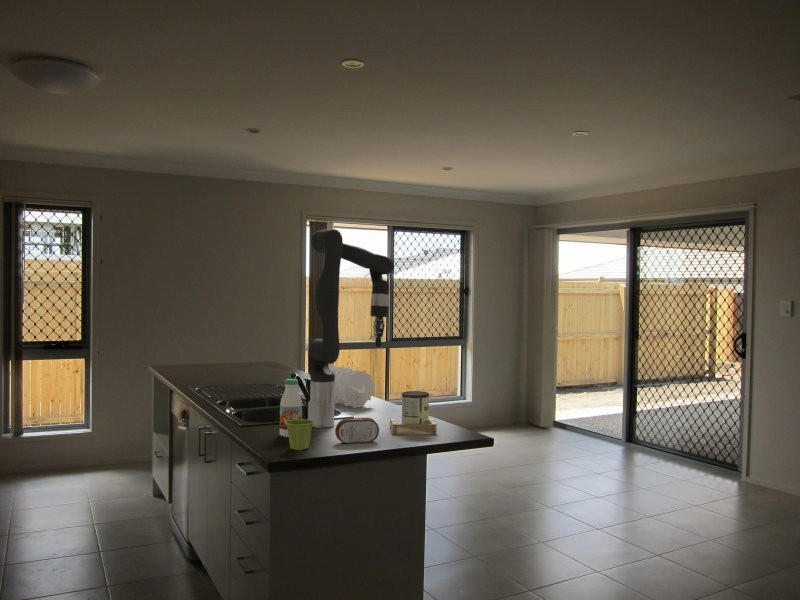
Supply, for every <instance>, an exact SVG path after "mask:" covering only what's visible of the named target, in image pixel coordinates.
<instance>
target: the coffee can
mask: <svg viewBox="0 0 800 600" xmlns="http://www.w3.org/2000/svg"><path fill="white" fill-rule="evenodd" d="M429 400H430V393H429V392H428V391H427V392H426V391H420V390H419V391H418V390H414V391H413V390H412V391H403V392H402V393H401V424H429V418H430V414H429V412H430V411H429V409H430V401H429Z"/></svg>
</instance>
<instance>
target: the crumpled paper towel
mask: <svg viewBox="0 0 800 600" xmlns="http://www.w3.org/2000/svg"><path fill="white" fill-rule="evenodd" d="M330 371H332V372H333V373H334V375H335V396H334V403H338V404H340V405H344V407H345V406H346V407H348V406H350V407H352V408H353V409H356V408H357V407H362V408H363V407H364V406H365V405H366V403H367V402H368V401H371V399H372V396H374V386H375V383H374V381H373V379H372V377H373V375H371V374H369V373H367V370H360V369H353V368H350V367H349V366H348V367H344V366H339V367H337V366H336V365H335V366H333V368H331V370H330Z"/></svg>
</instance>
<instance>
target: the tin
mask: <svg viewBox="0 0 800 600" xmlns="http://www.w3.org/2000/svg"><path fill="white" fill-rule="evenodd" d="M334 433H335V437H336V438H337V440H338V441H340V442H341V443H343V444H346V445H349V444H350V445H351V444H352V445H353V444H368V443H369V444H370V443H373V442H375V440H376V439H378V436H379V433H380V427H379V425H378V423H377V421H376V420H375V419H373V418H371V417H348V418H346V417H345V418H343V419H341V420H340V421H339V422H338V423H337V425H336V427H335V430H334Z"/></svg>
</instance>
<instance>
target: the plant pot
mask: <svg viewBox="0 0 800 600" xmlns="http://www.w3.org/2000/svg"><path fill="white" fill-rule="evenodd" d="M285 424H286V425H287V429H288V435H289V437H288V442H289V449H290V450H295V451H303V450H306V449H307V450H308V449H309V448H310V445H311V444H310V442H311V435H312V428H314V427H313V424H314V421H312V420H308V419H304V418H302V419H297V420H289V421H286V422H285Z"/></svg>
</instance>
